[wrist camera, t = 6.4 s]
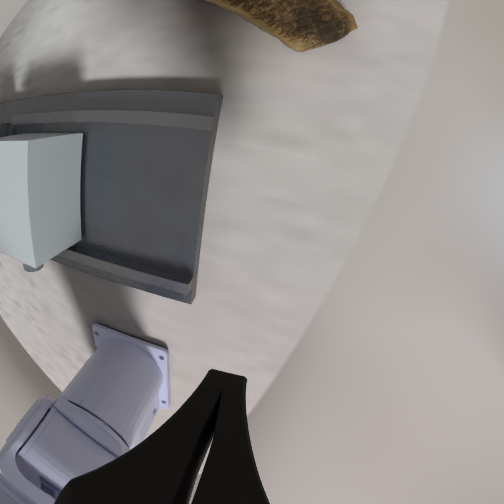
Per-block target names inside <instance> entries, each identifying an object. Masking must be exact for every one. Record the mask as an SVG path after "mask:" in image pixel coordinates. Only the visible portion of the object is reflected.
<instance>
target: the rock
mask: <svg viewBox="0 0 504 504" xmlns="http://www.w3.org/2000/svg"><path fill="white" fill-rule="evenodd" d="M205 1H207V2H209V3H211V4H213V5H216V6H218V7H221V8H223V9H225V10H228V11H230V12H232V13H234V14H236V15H239V16H240V17H242V18H243V19H244V20H246V21H248V22H250V23H252V24H253V25H255V26H257V27H259V28H260V29H261V30H263V31H266V32H267V33H269V34H271V35H273V36H275V37H277V38H278V39H280V40H281V42H283V43H284V44H285V45H286V46H288V47H290V48H292V49H293V50H296V51H298V52H303V51H307V50H310V49H314V48H317V47H320V46H323V45H326V44H329V43H333V42H336V41H338V40H339V39H341V38H343V37H344V36H346V35H347V34H348V33H349V32H350V31H352V30H354V29H356V28H357V25H356V22H355V19H354V17H353V15H352V14H351V13H350V12H349V11H347V10H345V9H344V8H343V7H342V6H341V5H340V4H339V3H338V2H336V1H335V0H205Z"/></svg>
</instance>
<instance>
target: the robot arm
mask: <svg viewBox="0 0 504 504" xmlns="http://www.w3.org/2000/svg"><path fill="white" fill-rule="evenodd" d="M92 330H93V335H94V340H95V345H96V351H95V352H94V353H93V355H92V356H91V357H90V358H89V359H88V361H87V362H86V363H85V364H84V366H83V367H82V368H81V369H80V371H79V372H78V373H77V374H76V376H75V377H74V378H73V380H72V381H71V382H70V383H69V385H68V386H67V387H66V388H65V390H64V391H63V392H62V394H61V395H60V396H59V398H58V399H56V400H55V401H54V402H53V401H52V399H50V398H49V397H45V398H44V397H39V398H38V399H37V400H36V401H35V403H34V404H33V405H32V406H31V408H30V409H29V410H28V412H27V413H26V414H25V415H24V417H23V418H22V419H21V421H20V422H19V423H18V425H17V426H16V427H15V429H14V430H13V431H12V433H11V434H10V435H9V437H8V438H7V440H6V441H7V442H6V444H5V445H4V446H3V448H2V450H1V451H0V469H1V471H2V474H3V475H2V474H1V473H0V504H189V501H190V497H191V494H192V490H193V487H194V484H195V480H196V478H197V475H198V472H199V470H200V467H201V465H202V462H203V460H204V458H205V455H206V453H207V450H208V448H209V446H210V443H211V441H212V438H213V441H212V445H211V448H210V451H209V454H208V457H207V460H206V463H205V466H204V469H203V472H202V475H201V478H200V481H199V484H198V487H197V489H196V492H195V495H194V498H193V500H192V503H191V504H270V503H269V501H268V498H267V496H266V493H265V491H264V488H263V486H262V483H261V480H260V477H259V474H258V470H257V467H256V463H255V459H254V456H253V451H252V447H251V442H250V436H249V431H248V423H247V415H246V383H247V379H246V378H245V377H244V376H239V375H235V374H231V373H226V372H222V371H218V370H214V369H211V370H209V371H208V373H207V375H206V376H205V378H204V379H203V381H202V382H201V383H200V385H199V386H198V387H197V389H196V390H195V391H194V392H193V394H192V395H191V396H190V397H189V398H188V399H187V401H186V402H185V403H184V404H183V405H182V406H181V407H180V408H179V409H178V411H177V412H176V413H174V414H173V415H172V416H171V417H170V418H169V419H168V420H167V421H166V422H165V423H164V424H163V425H162V426H161V427H160V428H158V429H157V430H156V431H155V432H154V433H152V434H151V435H150V436H149V437H147V438H146V439H145V440H144V438H145V436H146V434H147V432H148V430H149V428H150V426H151V424H152V421H153V419H154V417H155V415H156V413H157V411H158V409H159V408H162V409H165V410H167V409H169V377H168V351H167V350H166V349H165V348H163V347H160V346H157V345H154V344H151V343H148V342H145V341H142V340H139V339H137V338H134V337H131V336H128V335H125V334H123V333H120V332H117V331H115V330H112V329H110V328H107V327H105V326H102V325H99V324H97V323H94V324H93V326H92ZM162 356H163V357H162ZM52 402H53V403H52ZM213 436H214V437H213ZM143 440H144V441H143ZM3 476H4V477H3Z"/></svg>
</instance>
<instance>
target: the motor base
mask: <svg viewBox="0 0 504 504" xmlns="http://www.w3.org/2000/svg"><path fill="white" fill-rule="evenodd" d="M222 98H223V96H221V95H219V94H211V93H200V92H187V91H169V90H104V91H87V92H74V93H64V94H55V95H47V96H40V97H33V98H27V99H21V100H16V101H11V102H6V103H1V104H0V137H6V136H11V135H17V134H23V133H83V140H82V154H81V177H80V214H81V238H82V240H80V241H79V242H77V243H75V244H74V245H72V246H70V247H69V248H67V249H66V250H64V251H62V252H61V253H59V254H58V255H56V256H55V257H53V258H51V260H54V261H56V262H59V263H62V264H64V265H67V266H70V267H73V268H76V269H79V270H81V271H84V272H87V273H90V274H93V275H96V276H99V277H102V278H105V279H108V280H111V281H114V282H117V283H121V284H124V285H127V286H130V287H133V288H137V289H140V290H143V291H146V292H150V293H153V294H156V295H160V296H163V297H167V298H170V299H174V300H177V301H181V302H185V303H188V304H191V303H192V302H193V300H194V298H195V294H196V284H197V274H198V264H199V255H200V246H201V238H202V229H203V221H204V213H205V206H206V198H207V191H208V184H209V177H210V170H211V164H212V157H213V151H214V145H215V138H216V132H217V126H218V121H219V115H220V109H221V104H222Z"/></svg>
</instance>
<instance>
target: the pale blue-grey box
mask: <svg viewBox="0 0 504 504" xmlns="http://www.w3.org/2000/svg"><path fill="white" fill-rule="evenodd" d="M82 140H83V133H23V134H17V135H11V136H6V137H0V253H2V254H5V255H7V256H9V257H11V258H13V259H15V260H18V261H20V262H22V263H23V266H24V270H25V271H27V272H35V271H38V270H40V269H41V268H42V267H43V264H44V263H45V262H47V261H48V260H50V259H51V258H53V257H55V256H56V255H58V254H59V253H61V252H62V251H64V250H66V249H67V248H69V247H70V246H72V245H74V244H75V243H77V242H79V241H80V240H82V238H81V214H80V177H81V154H82Z"/></svg>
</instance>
